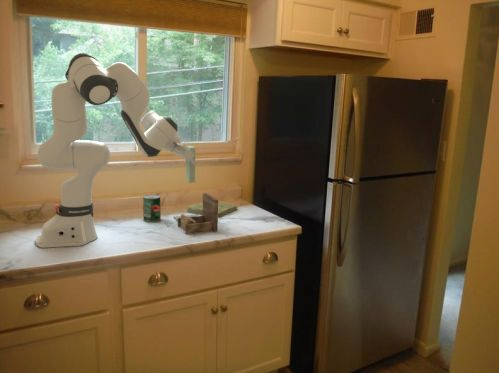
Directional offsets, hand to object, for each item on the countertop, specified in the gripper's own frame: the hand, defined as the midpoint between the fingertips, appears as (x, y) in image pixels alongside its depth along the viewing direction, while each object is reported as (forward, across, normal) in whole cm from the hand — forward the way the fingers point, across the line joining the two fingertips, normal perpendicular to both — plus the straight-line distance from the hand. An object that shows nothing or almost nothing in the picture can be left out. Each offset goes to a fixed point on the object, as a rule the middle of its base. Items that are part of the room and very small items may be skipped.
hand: (191, 162), depth 199 cm
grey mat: (+19, 0, +20) cm, 27 cm away
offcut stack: (+15, -14, +24) cm, 31 cm away
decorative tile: (+31, +12, +9) cm, 34 cm away
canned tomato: (+8, +7, +31) cm, 33 cm away
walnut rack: (+18, -14, +21) cm, 31 cm away
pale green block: (+6, 0, +7) cm, 9 cm away
